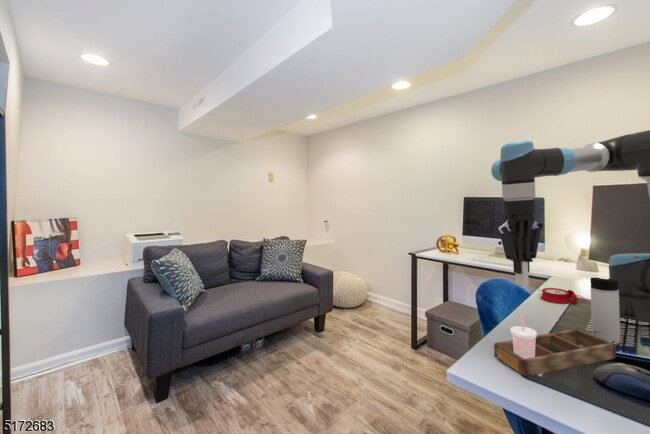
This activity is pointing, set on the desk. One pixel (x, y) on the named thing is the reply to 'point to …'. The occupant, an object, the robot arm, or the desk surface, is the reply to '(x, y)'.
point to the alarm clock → (559, 296)
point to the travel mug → (605, 309)
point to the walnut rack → (564, 359)
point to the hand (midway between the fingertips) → (522, 284)
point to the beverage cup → (523, 340)
